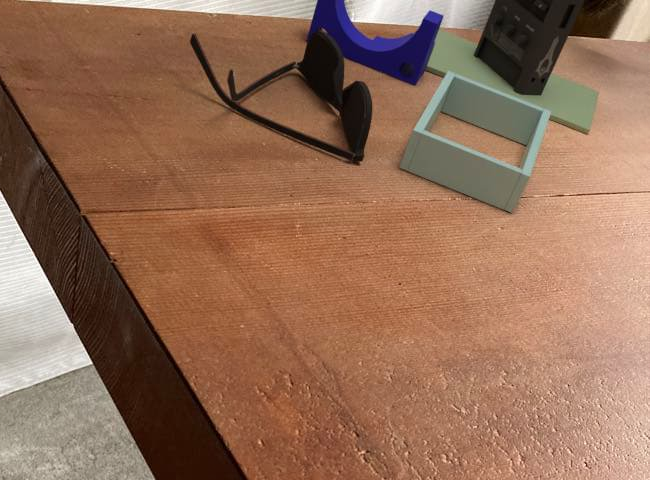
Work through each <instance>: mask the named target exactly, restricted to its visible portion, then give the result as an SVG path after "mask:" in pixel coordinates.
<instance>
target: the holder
mask: <svg viewBox="0 0 650 480" xmlns="http://www.w3.org/2000/svg"><path fill="white" fill-rule="evenodd" d="M441 113H444V114H447V115H448V116H451V117H454V118H457V119H459V120H462V121H464V122H466V123H469V124H470V125H471V124H472V125H474V126H476V127H479V128H481V129H483V130H487V131H489V132H491V133H494V134H497V135H499V136H501V137H503V138H507V139H509V140H510V141H511V140H512V141H514V142H516V143H519V144H522V145H524V146H526V147H525V150H524V152H523V156H522V158H521V160H520V164H519V166H515V165H512V164H510V163H508V162H506V161H502V160H501V159H497V158H495V157H492V156H490V155H487V154H485V153H483V152H480V151H477V150H475V149H472V148H471V147H467V146H465V145H462V144H460V143H457V142H455V141H453V140H450V139H447V138H445V137H442V136H440V135H438V134H434V133H432V132H431V130H432V129H433V126H434V124H435V123H436V121H437V119H438V117H439V115H440V114H441ZM550 115H551V111H549V110H546V109H543V108H541V107H539V106H536V105H534V104H531V103H529V102H526V101H524V100H521V99H519V98H516V97H514V96H511V95H509V94H506V93H503V92H501V91H498V90H496V89H493V88H491V87H488V86H486V85H483V84H481V83H478V82H476V81H473V80H471V79H468V78H465V77H463V76H460V75H458V74H455V73H453V72H450V71H448V72H447V74H446V75H445V77H443V79H442V81H441V82H440V84H439V86H438V87H437V89H436V90H435V92H434V94H433V96H432V97H431V99H430V101H429V102H428V104H427V106H426V107H425V109H424V111H423V112H422V114H421V116H420V117H419V119H418V120H417V122H416V124H415V125H414V128H413V129H412V131H411V135H410V138H409V140H408V143H407V145H406V148H405V150H404V153H403V156H402V159H401V161H400V163H399V166H398V167H399V169H401V170H404V171H406V172H409V173H411V174H414V175H416V176H419V177H421V178H423V179H426V180H429V181H431V182H433V183H436V184H438V185H440V186H442V187H445V188H448V189H451V190H453V191H456V192H458V193H461V194H462V195H466V196H468V197H471V198H473V199H475V200H478V201H480V202H483V203H485V204H487V205H491V206H493V207H496V208H498V209H500V210H503V211H505V212H508V213H511V214H513V213H514V211H515V210H516V207H517V205H518V203H519V202H520V199H521V196H522V195H523V192H524V191H525V188H526V187H527V185H528V182H529V180H530V178H531V175H532V173H533V169H534V166H535V163H536V160H537V157H538V154H539V151H540V148H541V145H542V143H543V139H544V136H545V132H546V130H547V127H548V124H549V120H550V119H549V118H550Z"/></svg>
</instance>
